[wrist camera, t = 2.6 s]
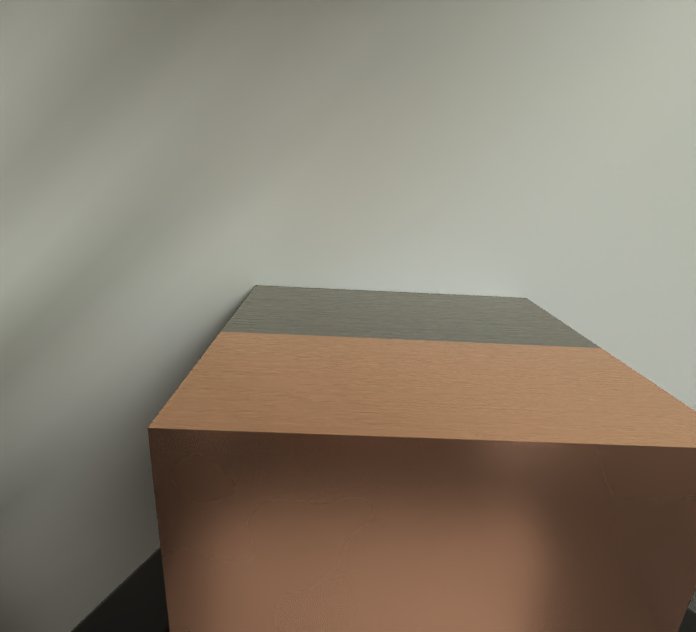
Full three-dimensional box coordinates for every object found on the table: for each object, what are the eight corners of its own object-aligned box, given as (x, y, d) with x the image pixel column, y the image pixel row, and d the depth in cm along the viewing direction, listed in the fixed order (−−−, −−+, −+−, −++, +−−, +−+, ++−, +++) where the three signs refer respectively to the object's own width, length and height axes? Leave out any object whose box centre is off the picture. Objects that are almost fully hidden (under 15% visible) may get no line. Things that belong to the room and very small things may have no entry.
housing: (526, 298, 8) (753, 449, 4) (455, 668, 11) (529, 989, 7) (255, 285, 8) (148, 426, 3) (261, 665, 11) (209, 991, 7)
